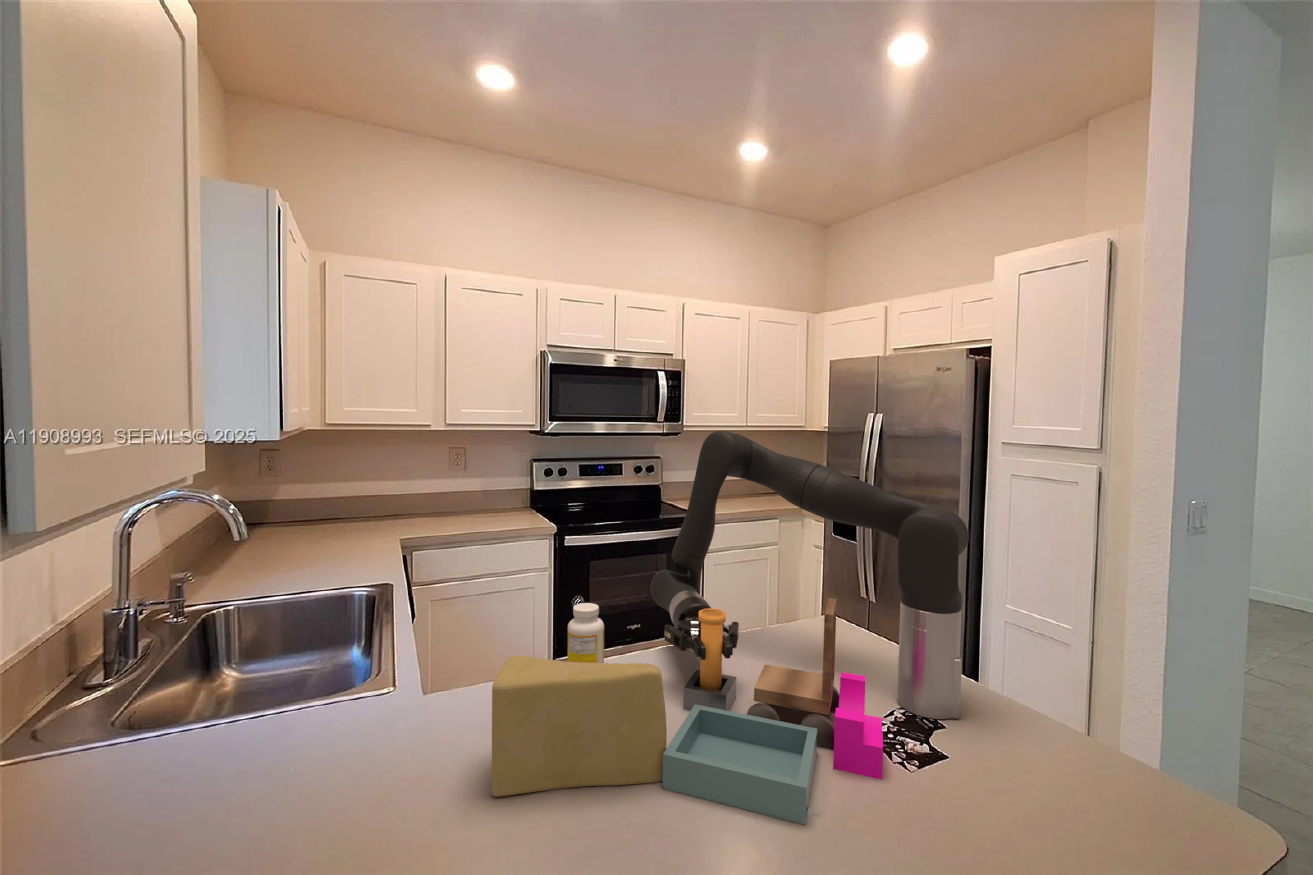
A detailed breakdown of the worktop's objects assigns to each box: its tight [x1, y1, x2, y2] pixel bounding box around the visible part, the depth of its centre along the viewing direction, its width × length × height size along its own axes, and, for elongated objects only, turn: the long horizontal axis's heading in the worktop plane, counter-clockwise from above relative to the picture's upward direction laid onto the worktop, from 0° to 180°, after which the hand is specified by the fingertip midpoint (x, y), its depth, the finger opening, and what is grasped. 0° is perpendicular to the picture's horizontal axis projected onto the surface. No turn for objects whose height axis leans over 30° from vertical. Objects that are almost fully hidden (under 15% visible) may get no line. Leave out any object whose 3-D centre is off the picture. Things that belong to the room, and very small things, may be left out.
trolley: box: [746, 597, 840, 750], centre depth 91 cm, size 13×12×20 cm
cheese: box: [491, 655, 668, 798], centre depth 77 cm, size 22×10×15 cm, turn 90°
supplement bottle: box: [567, 602, 605, 663], centre depth 107 cm, size 7×7×13 cm
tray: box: [662, 704, 818, 826], centre depth 79 cm, size 18×14×4 cm
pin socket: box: [682, 669, 737, 712], centre depth 96 cm, size 7×7×4 cm
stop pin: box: [699, 607, 727, 691], centre depth 95 cm, size 4×4×15 cm
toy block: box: [832, 672, 884, 781], centre depth 86 cm, size 15×6×8 cm, turn 159°
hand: (716, 653), depth 93 cm, fingers closed on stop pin, 3 cm apart
